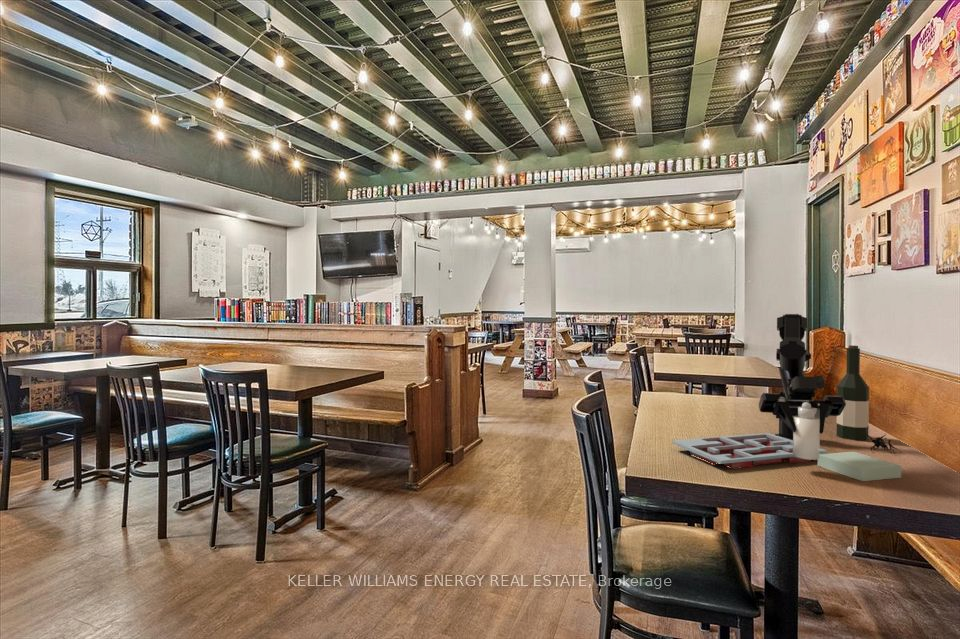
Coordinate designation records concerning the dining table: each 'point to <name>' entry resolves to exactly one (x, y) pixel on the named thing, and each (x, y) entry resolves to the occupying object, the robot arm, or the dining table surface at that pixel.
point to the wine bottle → (853, 400)
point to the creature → (881, 443)
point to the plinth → (859, 466)
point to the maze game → (743, 449)
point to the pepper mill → (806, 433)
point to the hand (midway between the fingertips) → (808, 432)
